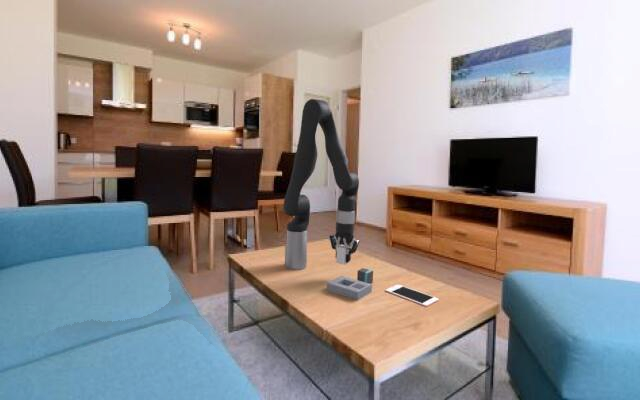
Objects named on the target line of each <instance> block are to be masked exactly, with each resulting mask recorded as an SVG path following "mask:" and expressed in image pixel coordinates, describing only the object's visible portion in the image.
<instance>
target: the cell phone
mask: <svg viewBox="0 0 640 400" xmlns="http://www.w3.org/2000/svg"><path fill="white" fill-rule="evenodd" d="M384 292H386V293H389V294H391V295H394V296H395V297H396V296H397V297H399V298H402V299H404V300H408V301H410V302H412V303H415V304H417V305H421V306H423V307H426V308H427V307H429V306H431V305H433V304H435V303H437V302H438V300H439V298H437V297H436V296H432V295H429V294H427V293H423V292H421V291H418V290H416V289H413V288H409V287H406V286H405V285H401V284H395V285H393V286H391V287H389V288H386V289H385V290H384Z"/></svg>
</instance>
